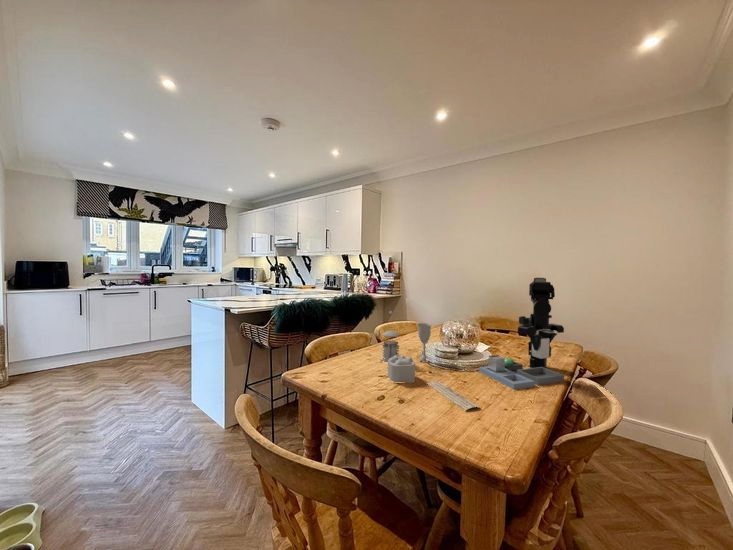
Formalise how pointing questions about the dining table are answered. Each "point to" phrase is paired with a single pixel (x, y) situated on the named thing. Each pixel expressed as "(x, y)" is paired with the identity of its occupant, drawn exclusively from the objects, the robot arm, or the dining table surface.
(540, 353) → the block
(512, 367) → the button housing
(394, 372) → the fruit punnet
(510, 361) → the button
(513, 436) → the dining table surface
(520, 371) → the tray
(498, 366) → the block
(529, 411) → the dining table surface
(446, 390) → the grooved grey strip
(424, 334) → the chalice
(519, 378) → the pallet
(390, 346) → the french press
